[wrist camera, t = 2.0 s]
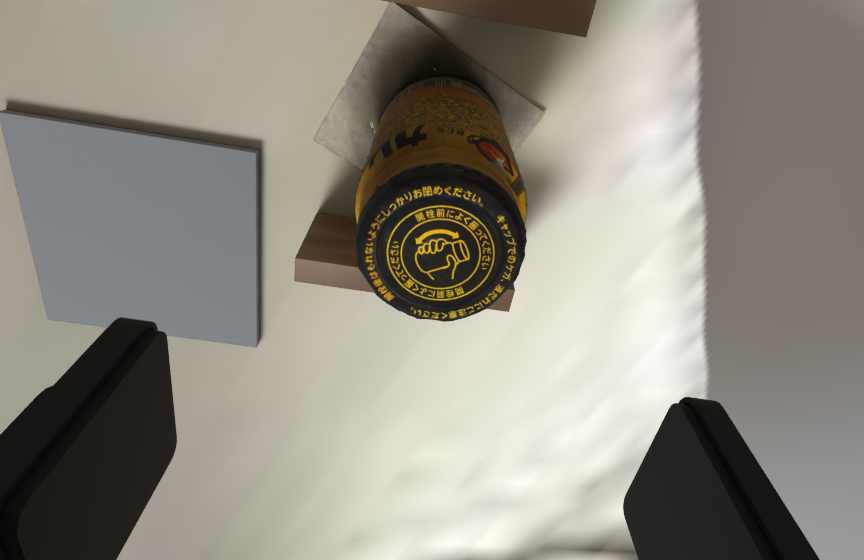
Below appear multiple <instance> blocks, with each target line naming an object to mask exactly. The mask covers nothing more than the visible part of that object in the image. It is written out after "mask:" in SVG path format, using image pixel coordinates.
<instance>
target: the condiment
mask: <svg viewBox="0 0 864 560" xmlns="http://www.w3.org/2000/svg"><path fill="white" fill-rule="evenodd" d="M434 68H436V71H435V70H434ZM544 114H545V113H544V112H543V111H541V110H540V109H539V108H537V107H536V106H535V105H533V104H532V103H530V102H529V101H528V100H526V99H525V98H524V97H522V96H521V95H520V94H518V93H517V92H516V91H514V90H513V89H512V88H510V87H509V86H507V85H506V84H505V83H503V82H502V81H501V80H499V79H498V78H497V77H495V76H494V75H493V74H491V73H490V72H488V71H487V70H486V69H484V68H483V67H482V66H480V65H479V64H477V63H476V62H475V61H473V60H472V59H471V58H469V57H468V56H466V55H465V54H463V53H462V52H461V51H459V50H458V49H456V48H455V47H454V46H452V45H451V44H450V43H449V42H447V41H446V40H444V39H443V38H442V37H441V36H439V35H438V34H436V33H435V32H434V31H432V30H431V29H430V28H428V27H427V26H425V25H424V24H423V23H421V22H420V21H418V20H417V19H415V18H414V17H413V16H411V15H410V14H409V13H407V12H406V11H405V10H403V9H402V8H401V7H399V6H398V5H397V4H395V3H394V2H391V3H390V5H389V7H388V9H387V10H386V12H385V14H384V16H383V18H382V20H381V21H380V23H379V25H378V26H377V28H376V30H375V32H374V34H373V35H372V37H371V39H370V41H369V42H368V44H367V46H366V48H365V50H364V51H363V53H362V55H361V57H360V58H359V60H358V62H357V64H356V65H355V67H354V69H353V71H352V73H351V74H350V76H349V78H348V80H347V81H346V83H345V86H344V87H343V88H342V90H341V92H340V94H339V96H338V97H337V99H336V101H335V103H334V104H333V106H332V108H331V110H330V111H329V113H328V115H327V117H326V119H325V120H324V122H323V124H322V126H321V127H320V129H319V131H318V133H317V134H316V136H315V138H314V141H316V142H317V143H319V144H320V145H322V146H323V147H325V148H326V149H328V150H329V151H331V152H333V153H335V154H336V155H338V156H340V157H341V158H343V159H344V160H346V161H347V162H348V163H350V164H352V165H354V166H356V167H357V168H359V169H361V170H362V174H361V177H360V180H359V183H358V187H357V191H356V199H355V214H356V222H357V226H356V230H355V236H356V239H355V241H356V254H357V266H358V268H359V270H360V271H361V273H362V274H363V276H364V278H365V279H366V280H367V282H368V283H369V285H370V286H371V287H372V289H373V290H374V292H375V294H376V295H377V296H378V297H379V298H381V299H382V300H383V301H384V302H386V303H387V304H389V305H391V306H392V307H394V308H395V309H397V310H398V311H402V312H404V313H406V314H407V315H409V316H413V317H415V318H417V319H431V320H439V321H454V320H458V319H462V318H466V317H469V316H471V315H473V314H476V313H478V312H481V311H483V310H485V309H486V308H488V307H490V306H491V305H492V304H493V303H495V302H496V301H497V300H498V298H499V297H501V296H502V295H503V294H504V293H505V292H506V291H507V290H508V289H509V288H510V287H511V286H512V285H513V283H514V281H515V280H516V279H517V276H518V275H519V271H520V268H521V264H522V262H523V260H524V257H525V246H526V242H527V240H526V229H525V220H526V211H527V199H526V190H525V187H524V183H523V180H522V178H521V175H520V172H519V169H518V166H517V163H516V160H515V157H514V154H513V153H514V152H515V151H516V150H517V148H518V147H519V146H520V145H521V144H522V142H523V141H524V140H525V139H526V137H527V136H528V135H529V133H530V132H531V131H532V130H533V128H534V127H535V126H536V124H537V123H538V122H539V121H540V119H541V118H542V116H543V115H544ZM371 121H372V122H373V125H374V128H371V126H370V122H371ZM374 131H376V132H375V135H374V133H373V132H374Z"/></svg>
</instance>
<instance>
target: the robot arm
mask: <svg viewBox="0 0 864 560" xmlns="http://www.w3.org/2000/svg"><path fill="white" fill-rule="evenodd" d="M176 443H177V436H176V425H175V415H174V405H173V394H172V384H171V374H170V363H169V353H168V343H167V336H166V334H165V332H163V331H158V328H157V325H156V324H155V323H154V322H151V321H144V320H137V319H130V318H123V317H120V318H117V319H116V320H115V321H113V322H112V323H111V324H110V326H109V327H108V328H107V329H106V330H105V331H104V332H103V333H102V334H101V335H100V336H99V337H98V338H97V339H96V341H95V342H94V343H93V344H92V345H91V346H90V347H89V348H88V349H87V350H86V351H85V352H84V353H83V354H82V355H81V357H80V358H79V359H78V360H77V361H76V362H75V363H74V364H73V365H72V366H71V367H70V368H69V369H68V370H67V372H66V373H65V374H64V375H63V376H62V377H61V378H60V379H59V380H58V381H57V382H56V383H55V384H54V385H53V386H51V387H48V388H46V389H45V390H44V391H42V392H41V393H40V394H39V395H38V396H37V397H36V398H35V399H34V400H33V401H32V402H31V403H30V404H29V405H28V406H27V407H26V408H25V409H24V410H23V411H22V413H21V414H20V415H19V416H18V417H17V418H16V419H15V420H14V421H13V422H12V423H11V424H10V425H9V426H8V427H7V428H6V429H5V430H4V431H3V433H2V434H1V435H0V560H116V559H117V557H118V556H119V554H120V552H121V550H122V548H123V547H124V545H125V543H126V541H127V539H128V537H129V536H130V534H131V532H132V530H133V528H134V527H135V525H136V523H137V521H138V519H139V518H140V516H141V514H142V512H143V510H144V509H145V507H146V505H147V503H148V501H149V500H150V498H151V496H152V494H153V492H154V491H155V489H156V487H157V485H158V483H159V482H160V480H161V478H162V476H163V474H164V473H165V471H166V469H167V467H168V465H169V464H170V462H171V460H172V458H173V455H174V452H175V449H176ZM623 510H624V516H625V519H626V522H627V526H628V529H629V532H630V535H631V538H632V541H633V544H634V547H635V550H636V553H637V556H638V559H639V560H819V558H818V556H817V555H816V553H815V552H814V550H813V548H812V547H811V546H810V544H809V542H808V541H807V539H806V537H805V536H804V534H803V533H802V531H801V530H800V528H799V527H798V525H797V523H796V522H795V520H794V518H793V517H792V515H791V514H790V512H789V511H788V509H787V508H786V506H785V504H784V503H783V501H782V500H781V498H780V496H779V495H778V493H777V492H776V490H775V489H774V487H773V485H772V484H771V482H770V481H769V479H768V478H767V476H766V474H765V473H764V471H763V470H762V468H761V466H760V465H759V463H758V462H757V460H756V459H755V457H754V455H753V454H752V452H751V451H750V449H749V447H748V446H747V444H746V443H745V442H744V440H743V438H742V436H741V435H740V433H739V432H738V430H737V429H736V427H735V425H734V424H733V422H732V421H731V419H730V417H729V416H728V414H727V413H726V411H725V410H724V408H723V407H722V406H721V404H720V403H718V402H716V401H712V400H705V399H698V398H691V397H684V398H683V399H681V400H680V402H679V403H675V404H673V405H671V407H670V408H669V410H668V412H667V414H666V416H665V418H664V420H663V422H662V424H661V426H660V428H659V430H658V432H657V434H656V436H655V438H654V440H653V442H652V444H651V446H650V448H649V450H648V452H647V454H646V456H645V458H644V460H643V462H642V464H641V466H640V468H639V470H638V472H637V474H636V476H635V478H634V480H633V482H632V483H631V485H630V487H629V489H628V491H627V493H626V496H625V498H624V504H623Z"/></svg>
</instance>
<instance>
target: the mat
mask: <svg viewBox="0 0 864 560" xmlns="http://www.w3.org/2000/svg"><path fill="white" fill-rule="evenodd" d="M0 123H1V127H2V131H3V136H4V140H5V144H6V148H7V152H8V156H9V161H10V165H11V169H12V173H13V177H14V181H15V186H16V190H17V194H18V198H19V202H20V206H21V210H22V215H23V219H24V223H25V227H26V231H27V235H28V240H29V244H30V248H31V252H32V256H33V260H34V264H35V269H36V273H37V277H38V281H39V285H40V289H41V294H42V298H43V302H44V306H45V310H46V314H47V319H48V320H54V321H62V322H69V323H76V324H84V325H91V326H99V327H106V328H108V327H109V326H110V324H111V323H112V322H113V321H115V320H116V319H117V318H120V317H123V318H130V319H137V320H144V321H151V322H154V323H155V324H156V325H157V328H158V331H163V332H165V334H166V336H174V337H181V338H189V339H196V340H204V341H211V342H219V343H226V344H234V345H241V346H249V347H256V348H257V346H258V344H259V150H256V149H250V148H244V147H238V146H231V145H225V144H219V143H212V142H206V141H200V140H193V139H187V138H181V137H175V136H168V135H162V134H156V133H149V132H143V131H137V130H131V129H124V128H118V127H112V126H105V125H99V124H93V123H86V122H80V121H74V120H68V119H61V118H55V117H49V116H42V115H36V114H30V113H23V112H17V111H11V110H3V111H0Z"/></svg>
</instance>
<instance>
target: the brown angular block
mask: <svg viewBox="0 0 864 560" xmlns="http://www.w3.org/2000/svg"><path fill="white" fill-rule="evenodd" d="M383 1H388V2H394V3H399V4H405V5H410V6H416V7H421V8H427V9H432V10H438V11H443V12H449V13H454V14H460V15H466V16H471V17H477V18H482V19H488V20H493V21H499V22H504V23H510V24H515V25H521V26H526V27H532V28H537V29H543V30H549V31H554V32H560V33H565V34H571V35H576V36H582V37H586V36H587V32H588V28H589V25H590V21H591V18H592V14H593V11H594V7H595V4H596V0H383ZM356 226H357V222H356V219H355V218H348V217H342V216H335V215H328V214H322V213H317V214H316V216H315V218H314V220H313V222H312V224H311V226H310V228H309V230H308V233H307V235H306V237H305V239H304V241H303V243H302V245H301V247H300V249H299V251H298V254H297V256H296V258H295V277H294V281H297V282H304V283H311V284H318V285H325V286H332V287H339V288H346V289H353V290H360V291H367V292H374V290H373V289H372V287H371V286H370V285H369V283H368V282H367V280H366V279H365V278H364V276H363V274H362V273H361V271H360V270H359V268H358V266H357V254H356V241H355V239H356V236H355V230H356ZM514 291H515V289H514V284H513V285H512V286H511V287H510V288H509V289H508V290H507V291H506V292H505V293H504V294H503V295H502V296H501V297H499V298H498V300H497V301H496V302H495V303H493V304H492V305H491V306H490V307H488V308H486V309H493V310H500V311H507V312H509V309H510V306H511V302H512V299H513V295H514ZM374 293H375V292H374Z"/></svg>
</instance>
